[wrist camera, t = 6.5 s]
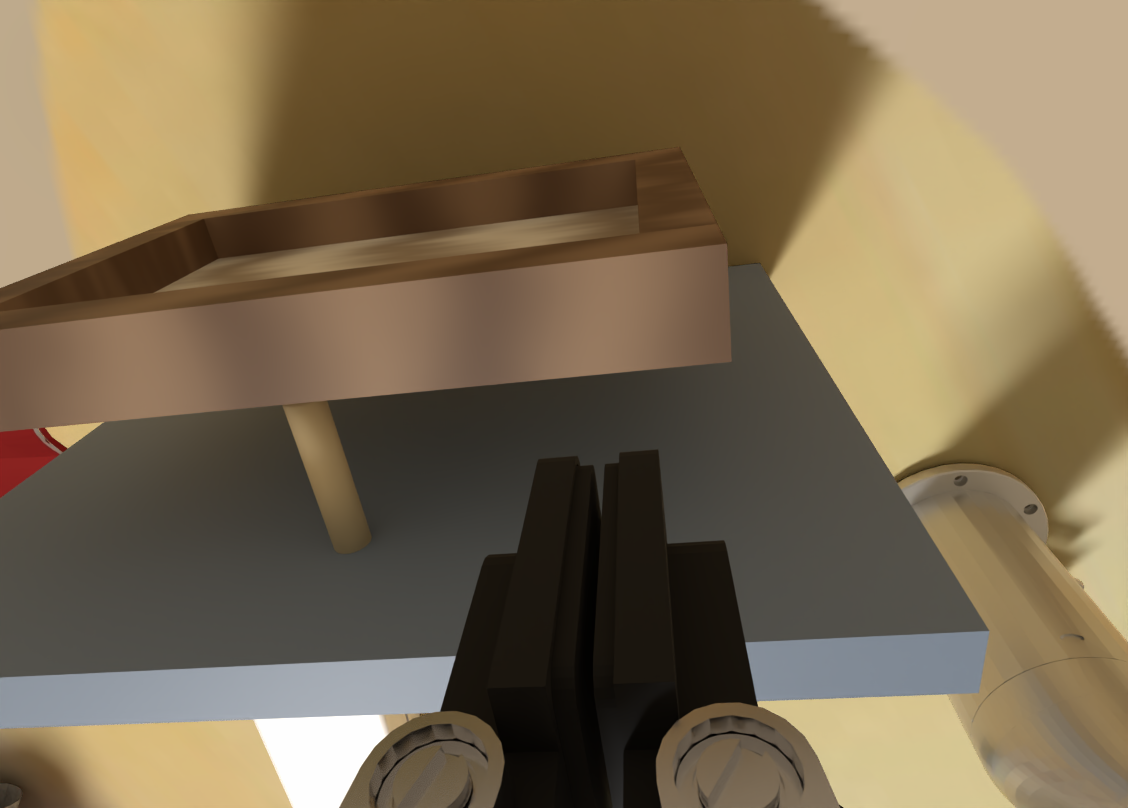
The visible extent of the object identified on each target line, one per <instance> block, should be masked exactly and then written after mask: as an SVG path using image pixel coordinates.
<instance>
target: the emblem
mask: <svg viewBox="0 0 1128 808" xmlns="http://www.w3.org/2000/svg"><path fill="white" fill-rule="evenodd" d="M38 429H39V430H40V431H39V430H38ZM40 432H41V433H42V434H43V435H42V434H41V433H40ZM45 438H46V439H47V440H48V441H49V442H48V441H47V440H46V439H45ZM52 444H53V445H54V446H53V445H52ZM57 448H58V449H57ZM65 450H67V448H66V447H65V446H63V445H62V444H60V443H59V442H58V441H56V440H55V439H54V438H52V437H51V435H50V434H49V433H48V431H47V430H46V429H45V428H35V429H25V430H14V431H4V432H0V498H1V497H2V496H4V495H5V494H7V493H8V492H9V491H11V490H12V489H13V488H15V487H16V486H18V485H19V484H20V483H22V482H23V481H24V480H26V479H27V478H28V477H30V476H31V475H33V474H34V473H35V472H37V471H38V470H39V469H41V468H42V467H44V466H45V465H46V464H48V463H49V462H50V461H52V460H53V459H55V458H56V457H57V456H59V455H60V454H61V453H63V452H64V451H65ZM61 451H62V452H61Z"/></svg>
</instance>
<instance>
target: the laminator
mask: <svg viewBox="0 0 1128 808" xmlns="http://www.w3.org/2000/svg"><path fill="white" fill-rule="evenodd" d="M416 717H420V714H419V713H417V714H390V715H362V716H335V717H307V718H279V719H253V720H254V722H255V725H256V727H257V729H258V731H259V734H260V736H261V738H262V740H263V743H264V745H265V747H266V749H267V752H268V754H269V756H270V758H271V760H272V763H273V765H274V767H275V769H276V772H277V774H278V776H279V778H280V781H281V783H282V785H283V787H284V790H285V792H286V794H287V796H288V799H289V801H290V803H291V805H292V808H339V807H340V805H341V803H342V801H343V799H344V797H345V795H346V794H347V792H348V790H349V788H350V786H351V784H352V782H353V780H354V778H355V777H356V775H357V773H358V771H359V769H360V767H361V765H362V764H363V763H364V761H365V760H366V758H367V757H368V755H369V754H370V753H371V751H372V750H373V748H374V747H375V746H376V745H377V744H378V743H379V742H380V741H381V740H382V739H384V738H385V737H386V736H387V735H388V734H389V733H390V732H391V731H392V730H394V729H396V728H397V727H399V726H401V725H403V724H405V723H406V722H408V721H410V720H412V719H413V718H416Z"/></svg>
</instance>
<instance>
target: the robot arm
mask: <svg viewBox="0 0 1128 808" xmlns="http://www.w3.org/2000/svg"><path fill="white" fill-rule="evenodd" d="M897 484H898V485H899V487H900V488H901V490H902V492H903V493H904V495H905V496H906V498H907V500H908V501H909V503H910V504H911V506H912V508H913V509H914V511H915V512H916V514H917V516H918V517H919V519H920V520H921V522H922V524H923V525H924V527H925V528H926V530H927V532H928V533H929V535H930V536H931V538H932V540H933V541H934V543H935V544H936V546H937V548H938V549H939V551H940V552H941V554H942V556H943V557H944V559H945V560H946V562H947V564H948V565H949V567H950V568H951V570H952V572H953V573H954V575H955V576H956V578H957V580H958V581H959V583H960V584H961V586H962V588H963V589H964V591H965V592H966V594H967V596H968V597H969V599H970V600H971V602H972V604H973V605H974V607H975V608H976V610H977V612H978V613H979V615H980V616H981V618H982V620H983V621H984V623H985V625H986V626H987V628H988V629H989V637H988V643H987V649H986V654H985V660H984V666H983V672H982V678H981V684H980V689H979V693H967V694H947V695H948V697H949V699H950V701H951V703H952V705H953V707H954V709H955V711H956V713H957V715H958V717H959V719H960V721H961V723H962V725H963V727H964V729H965V731H966V733H967V735H968V737H969V739H970V741H971V743H972V745H973V747H974V749H975V751H976V753H977V755H978V757H979V759H980V761H981V763H982V765H983V767H984V769H985V771H986V772H987V774H988V775H989V777H990V779H991V780H992V782H993V783H994V784H995V786H996V787H997V788H998V789H999V791H1000V792H1001V793H1002V794H1003V795H1004V796H1005V797H1006V798H1007V799H1008V800H1009V801H1010V802H1011V803H1012V804H1013V805H1014V806H1015V807H1016V808H1128V642H1127V641H1126V639H1125V638H1124V637H1123V636H1122V635H1121V633H1120V632H1119V631H1118V630H1117V629H1116V627H1115V626H1114V625H1113V624H1112V623H1111V622H1110V620H1109V619H1108V618H1107V617H1106V616H1105V614H1104V613H1103V612H1102V611H1101V610H1100V609H1099V607H1098V606H1097V605H1096V604H1095V603H1094V601H1093V600H1092V599H1091V598H1090V597H1089V595H1088V594H1087V593H1086V592H1085V591H1084V585H1083V583H1082V581H1080V580H1079V579H1076V578H1074V577H1072V575H1071V574H1070V573H1069V572H1068V571H1067V569H1066V568H1065V567H1064V566H1063V565H1062V563H1061V562H1060V561H1059V560H1058V559H1057V558H1056V556H1055V555H1054V554H1053V553H1052V552H1051V550H1050V549H1049V548H1048V547H1047V546H1046V543H1047V538H1048V533H1049V529H1048V518H1047V515H1046V512H1045V509H1044V506H1043V504H1042V503H1041V501H1040V500H1039V499H1038V497H1037V496H1036V494H1035V493H1034V492H1033V491H1032V490H1031V489H1030V488H1029V487H1028V486H1027V485H1026V484H1025V483H1024V482H1023V481H1021V480H1020V479H1018V478H1017V477H1016V476H1014V475H1013V474H1011V473H1008V472H1006V471H1004V470H1001V469H999V468H996V467H991V466H986V465H982V464H966V463H959V464H950V465H942V466H938V467H934V468H931V469H927V470H923V471H921V472H919V473H916V474H914V475H911V476H909V477H907V478H905V479H903V480H902V481H900V482H898V483H897ZM339 808H843V807H842V806H840V805H839V804H838V802H837V799H836V797H835V795H834V793H833V790H832V788H831V786H830V784H829V781H828V779H827V777H826V775H825V772H824V770H823V768H822V766H821V763H820V761H819V759H818V757H817V755H816V754H815V752H814V750H813V749H812V747H811V746H810V744H809V743H808V741H807V739H806V738H805V736H804V735H803V734H802V733H800V732H799V731H798V730H797V729H796V728H795V727H794V726H793V725H791V724H790V723H789V722H788V721H787V720H786V719H784V718H782V717H780V716H778V715H776V714H774V713H772V712H770V711H768V710H766V709H764V708H761V707H758V704H757V699H756V694H755V689H754V684H753V679H752V674H751V669H750V664H749V659H748V653H747V648H746V643H745V638H744V633H743V628H742V623H741V618H740V613H739V608H738V603H737V598H736V592H735V587H734V582H733V577H732V572H731V567H730V562H729V557H728V552H727V547H726V543H725V541H724V540H718V541H702V542H686V543H670V544H667V534H666V523H665V513H664V502H663V492H662V481H661V471H660V460H659V451H658V449H655V450H643V451H630V452H620V453H619V463H609V464H605V467H604V483H603V500H602V517H601V510H600V503H599V496H598V489H597V482H596V475H595V469H594V466H593V465H584V466H580V462H579V458H578V456H568V457H556V458H543V459H538V462H537V465H536V470H535V474H534V479H533V483H532V487H531V492H530V496H529V501H528V505H527V510H526V514H525V519H524V523H523V528H522V532H521V537H520V541H519V546H518V550H517V553H508V554H491V555H488V556H487V557H485V559H484V561H483V564H482V567H481V570H480V574H479V577H478V581H477V584H476V588H475V591H474V595H473V598H472V602H471V605H470V609H469V612H468V615H467V619H466V622H465V626H464V629H463V633H462V636H461V640H460V643H459V647H458V650H457V654H456V657H455V661H454V664H453V668H452V671H451V675H450V678H449V682H448V685H447V689H446V692H445V696H444V699H443V703H442V706H441V710H440V712H433V713H430V714H427V715H423V716H420V717H416V718H413V719H412V720H410V721H408V722H406V723H405V724H403V725H401V726H399V727H397V728H396V729H394V730H392V731H391V732H390V733H389V734H388V735H387V736H386V737H385V738H384V739H382V740H381V741H380V742H379V743H378V744H377V745H376V746H375V747H374V748H373V750H372V751H371V753H370V754H369V755H368V757H367V758H366V760H365V761H364V763H363V764H362V765H361V767H360V769H359V771H358V773H357V775H356V777H355V778H354V780H353V782H352V784H351V786H350V788H349V790H348V792H347V794H346V795H345V797H344V799H343V801H342V803H341V805H340V807H339Z"/></svg>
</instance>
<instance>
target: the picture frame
mask: <svg viewBox="0 0 1128 808" xmlns="http://www.w3.org/2000/svg"><path fill="white" fill-rule="evenodd" d="M725 362H732V356H731V330H730V305H729V279H728V253H727V242H726V240H725V238H724V236H723V234H722V232H721V230H720V228H719V226H718V224H717V222H716V220H715V218H714V216H713V214H712V212H711V210H710V208H709V206H708V204H707V202H706V200H705V198H704V196H703V194H702V192H701V190H700V187H699V185H698V183H697V181H696V179H695V177H694V175H693V173H692V171H691V169H690V167H689V165H688V163H687V161H686V159H685V157H684V155H683V153H682V151H681V149H680V147H675V148H668V149H661V150H654V151H647V152H639V153H632V154H625V155H618V156H610V157H603V158H596V159H589V160H581V161H574V162H567V163H560V164H552V165H545V166H538V167H531V168H523V169H516V170H509V171H502V172H495V173H487V174H480V175H473V176H466V177H458V178H451V179H444V180H437V181H429V182H422V183H415V184H408V185H400V186H393V187H386V188H379V189H371V190H364V191H357V192H350V193H343V194H335V195H328V196H321V197H314V198H306V199H299V200H292V201H285V202H277V203H270V204H263V205H256V206H248V207H241V208H234V209H227V210H219V211H212V212H205V213H198V214H191V215H187V216H184V217H181V218H179V219H176V220H174V221H171V222H169V223H166V224H163V225H161V226H158V227H156V228H153V229H151V230H148V231H146V232H143V233H140V234H138V235H135V236H133V237H130V238H128V239H125V240H123V241H120V242H117V243H115V244H112V245H110V246H107V247H105V248H102V249H100V250H97V251H94V252H92V253H89V254H87V255H84V256H82V257H79V258H77V259H74V260H71V261H69V262H66V263H64V264H61V265H59V266H56V267H54V268H51V269H48V270H46V271H43V272H41V273H38V274H36V275H33V276H31V277H28V278H25V279H23V280H20V281H18V282H15V283H13V284H10V285H7V286H5V287H3V288H0V432H4V431H14V430H25V429H35V428H46V427H56V426H67V425H77V424H87V423H98V422H108V421H119V420H129V419H140V418H150V417H161V416H171V415H181V414H192V413H202V412H213V411H223V410H234V409H244V408H255V407H265V406H275V405H286V404H296V403H307V402H317V401H328V400H338V399H349V398H359V397H369V396H380V395H390V394H401V393H411V392H422V391H432V390H443V389H453V388H463V387H474V386H484V385H495V384H505V383H516V382H526V381H537V380H547V379H557V378H568V377H578V376H589V375H599V374H610V373H620V372H631V371H641V370H651V369H662V368H672V367H683V366H693V365H704V364H714V363H725Z"/></svg>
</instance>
